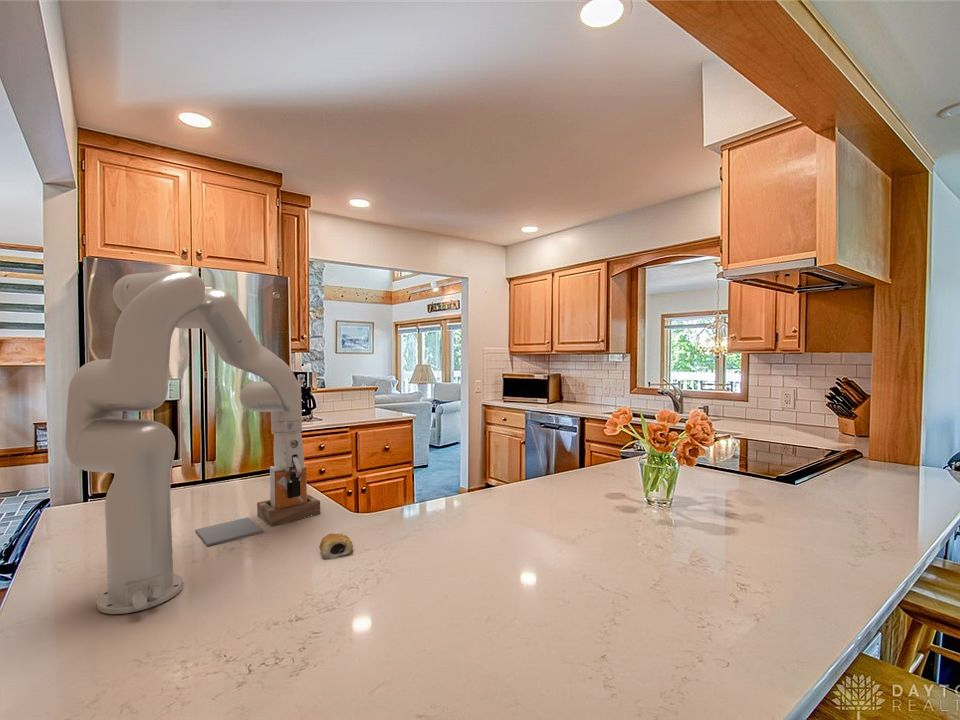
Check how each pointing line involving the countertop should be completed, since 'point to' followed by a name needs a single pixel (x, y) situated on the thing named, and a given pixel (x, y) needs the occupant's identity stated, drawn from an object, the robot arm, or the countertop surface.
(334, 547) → the pastry
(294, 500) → the small box
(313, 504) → the holder
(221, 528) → the mat
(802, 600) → the countertop surface
